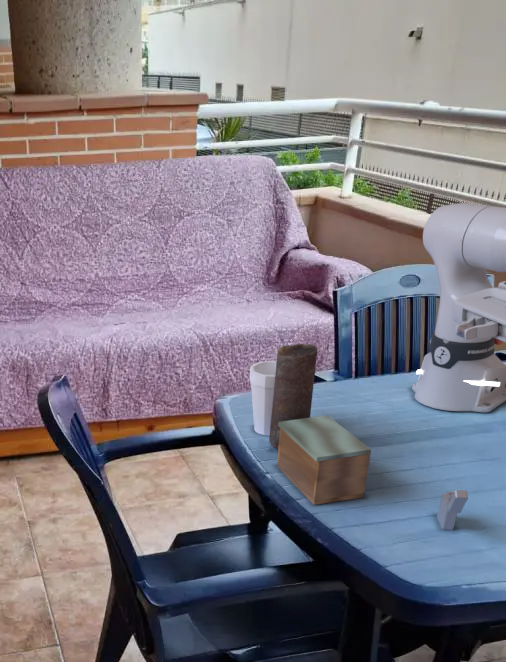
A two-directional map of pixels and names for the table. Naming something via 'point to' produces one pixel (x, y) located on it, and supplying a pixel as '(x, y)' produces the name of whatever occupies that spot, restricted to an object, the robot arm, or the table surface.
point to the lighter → (451, 508)
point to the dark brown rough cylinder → (292, 386)
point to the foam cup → (262, 394)
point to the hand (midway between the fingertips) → (460, 333)
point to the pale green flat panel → (323, 438)
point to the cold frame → (322, 473)
